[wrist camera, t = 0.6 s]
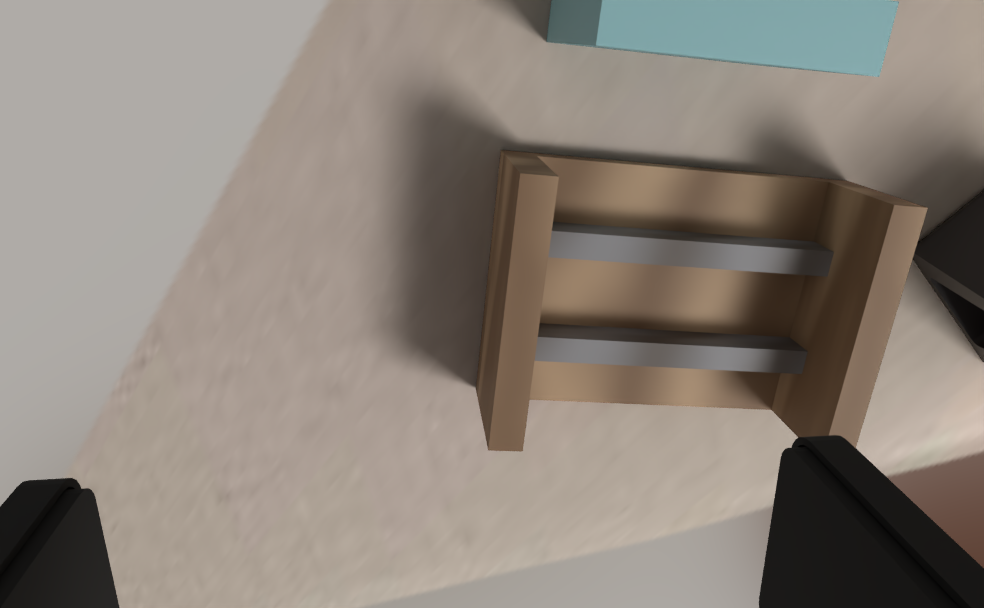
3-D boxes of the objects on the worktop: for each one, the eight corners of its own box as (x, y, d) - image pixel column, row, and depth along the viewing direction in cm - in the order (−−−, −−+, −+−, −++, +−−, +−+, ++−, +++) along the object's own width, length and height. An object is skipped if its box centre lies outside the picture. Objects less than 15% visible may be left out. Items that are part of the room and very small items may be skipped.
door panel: (773, 9, 33) (898, 1, 25) (761, 65, 34) (879, 76, 26) (553, -18, 32) (607, -36, 23) (546, 42, 33) (596, 45, 24)
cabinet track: (846, 180, 36) (927, 207, 31) (789, 401, 40) (851, 462, 35) (501, 149, 34) (520, 173, 28) (475, 388, 38) (488, 450, 32)
